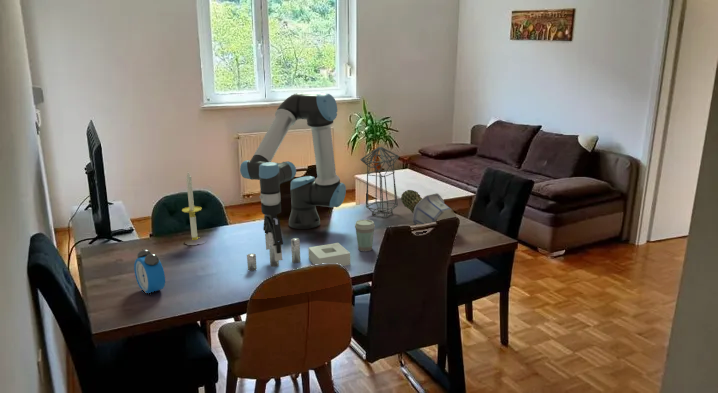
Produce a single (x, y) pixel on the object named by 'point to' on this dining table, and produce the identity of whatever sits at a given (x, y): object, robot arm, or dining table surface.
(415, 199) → the potted plant
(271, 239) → the long pin
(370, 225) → the coffee cup
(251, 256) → the short pin
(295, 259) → the medium pin
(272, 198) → the robot arm
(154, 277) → the alarm clock
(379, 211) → the geometric lantern
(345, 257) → the hole block
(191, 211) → the candlestick
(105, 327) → the dining table surface
